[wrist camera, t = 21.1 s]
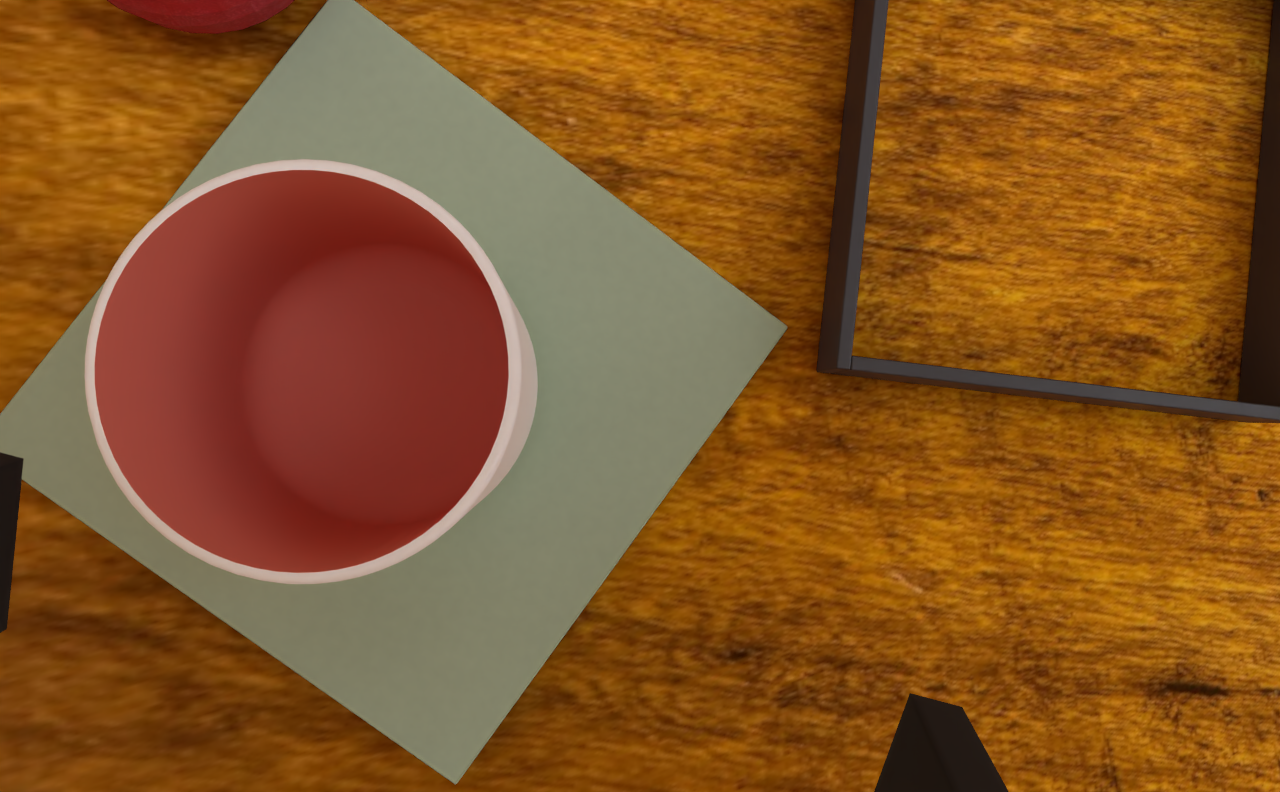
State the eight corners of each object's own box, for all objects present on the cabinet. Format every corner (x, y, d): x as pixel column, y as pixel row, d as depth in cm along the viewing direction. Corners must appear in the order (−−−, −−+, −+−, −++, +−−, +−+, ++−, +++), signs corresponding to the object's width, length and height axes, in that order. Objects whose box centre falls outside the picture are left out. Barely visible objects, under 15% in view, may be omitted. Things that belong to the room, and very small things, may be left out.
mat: (784, 328, 32) (788, 326, 31) (458, 778, 30) (455, 786, 30) (341, -5, 31) (337, -13, 30) (-15, 445, 29) (-27, 446, 29)
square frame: (1286, -11, 33) (1343, -45, 31) (1247, 422, 33) (1302, 423, 30) (862, -77, 32) (886, -118, 30) (816, 372, 32) (836, 368, 29)
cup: (579, 469, 30) (580, 496, 20) (306, 570, 29) (168, 649, 20) (482, 204, 30) (436, 100, 20) (207, 298, 29) (17, 238, 19)
